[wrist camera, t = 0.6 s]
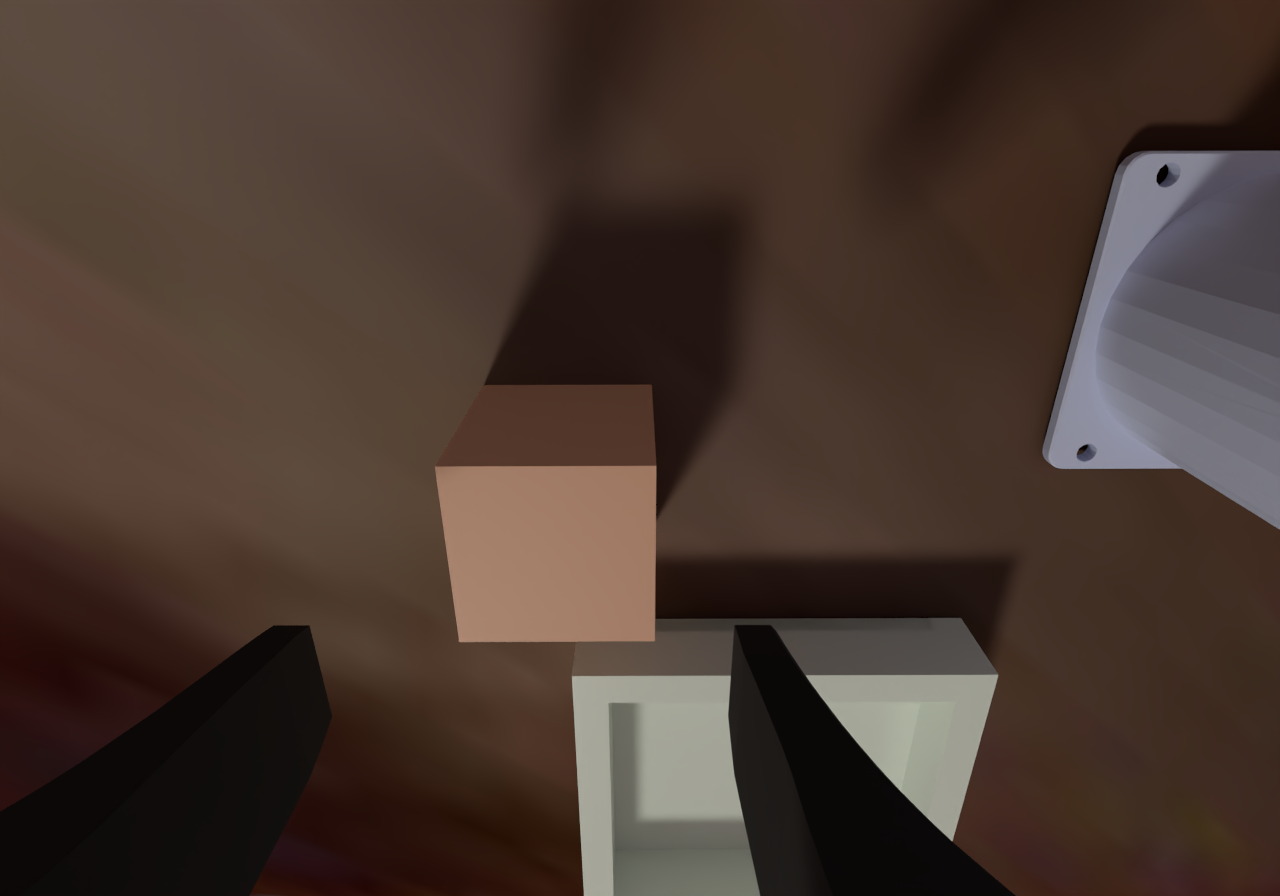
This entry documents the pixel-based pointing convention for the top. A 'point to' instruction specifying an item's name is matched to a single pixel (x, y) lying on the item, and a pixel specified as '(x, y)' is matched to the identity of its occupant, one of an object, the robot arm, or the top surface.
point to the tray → (701, 747)
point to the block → (552, 514)
